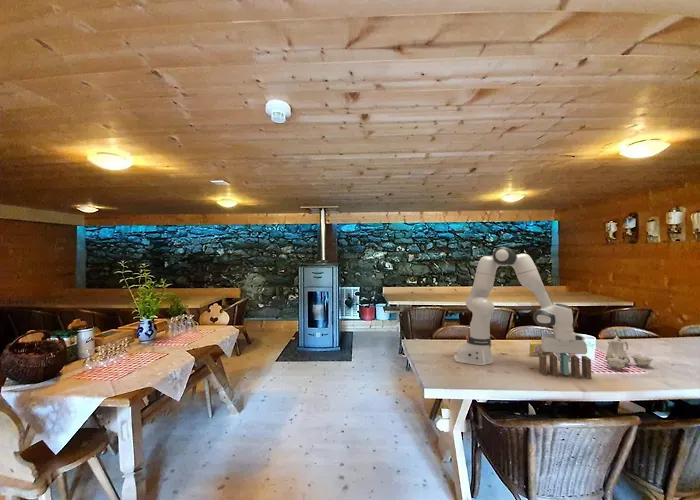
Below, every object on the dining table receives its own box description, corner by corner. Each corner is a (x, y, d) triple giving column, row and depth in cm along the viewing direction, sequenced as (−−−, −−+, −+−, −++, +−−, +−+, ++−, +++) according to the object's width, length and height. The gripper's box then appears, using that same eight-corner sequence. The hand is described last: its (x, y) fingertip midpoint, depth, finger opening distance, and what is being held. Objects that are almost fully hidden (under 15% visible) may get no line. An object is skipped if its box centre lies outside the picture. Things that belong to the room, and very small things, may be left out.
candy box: (531, 357, 199) (531, 343, 199) (529, 356, 201) (529, 342, 201) (554, 355, 202) (553, 342, 202) (551, 354, 204) (550, 341, 204)
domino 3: (575, 377, 164) (574, 358, 165) (571, 373, 170) (570, 355, 170) (580, 378, 164) (579, 358, 164) (575, 374, 170) (574, 355, 170)
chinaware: (620, 376, 169) (622, 346, 168) (589, 363, 185) (591, 335, 184) (656, 370, 177) (659, 341, 176) (623, 358, 193) (626, 331, 192)
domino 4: (586, 378, 163) (586, 359, 163) (582, 374, 169) (581, 355, 169) (591, 379, 162) (590, 359, 163) (586, 375, 168) (585, 355, 168)
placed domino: (564, 374, 166) (563, 355, 166) (560, 370, 172) (559, 352, 172) (568, 375, 166) (568, 355, 166) (564, 370, 171) (564, 352, 171)
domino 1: (542, 375, 169) (542, 356, 169) (539, 371, 175) (538, 352, 175) (546, 375, 168) (546, 356, 168) (543, 371, 174) (543, 353, 174)
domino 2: (553, 376, 167) (552, 357, 168) (549, 372, 173) (549, 353, 173) (557, 376, 167) (557, 357, 167) (554, 372, 173) (553, 353, 173)
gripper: (543, 335, 169) (543, 361, 169) (588, 337, 163) (589, 364, 163) (539, 332, 175) (540, 357, 175) (583, 334, 169) (583, 360, 169)
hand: (564, 361), depth 169 cm, fingers closed on placed domino, 2 cm apart
